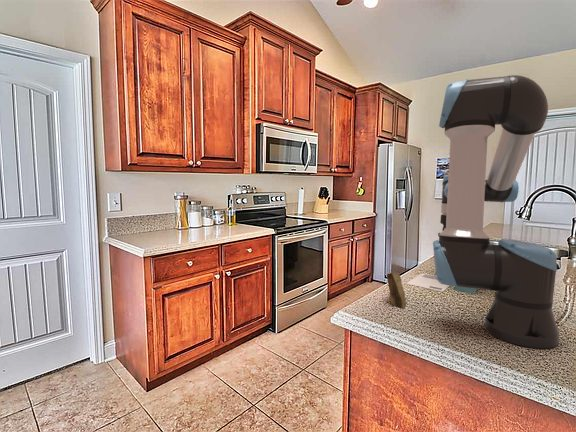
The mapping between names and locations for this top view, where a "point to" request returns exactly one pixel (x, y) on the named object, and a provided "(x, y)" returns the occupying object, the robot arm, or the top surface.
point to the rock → (396, 290)
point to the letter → (428, 282)
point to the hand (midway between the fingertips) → (447, 273)
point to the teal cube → (466, 289)
